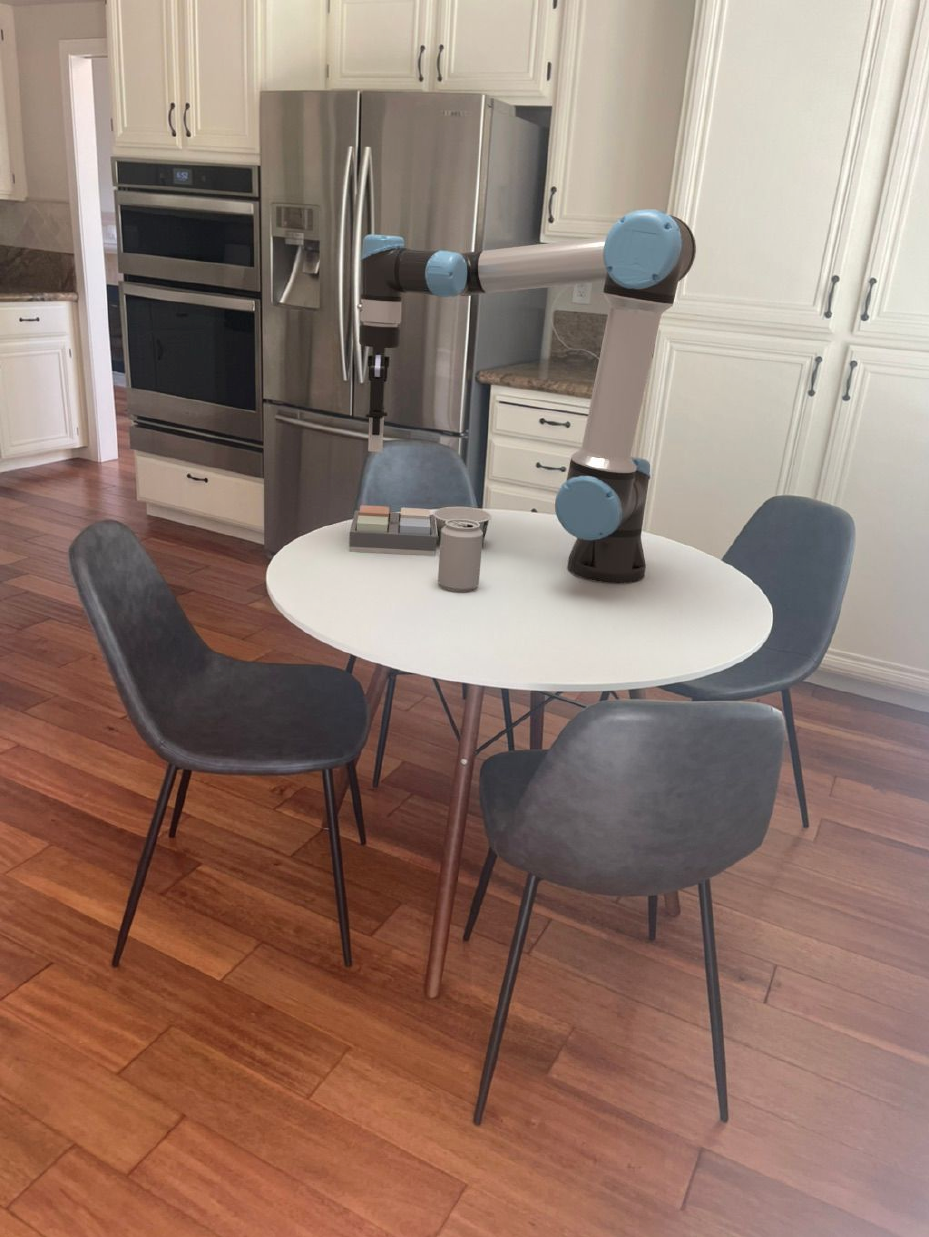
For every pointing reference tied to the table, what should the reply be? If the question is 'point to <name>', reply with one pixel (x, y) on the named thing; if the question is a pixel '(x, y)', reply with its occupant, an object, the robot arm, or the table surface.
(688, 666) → the table surface
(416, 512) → the key
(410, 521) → the key
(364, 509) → the key
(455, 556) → the can
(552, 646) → the table surface
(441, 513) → the food container
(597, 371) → the robot arm
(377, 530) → the key
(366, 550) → the keypad
